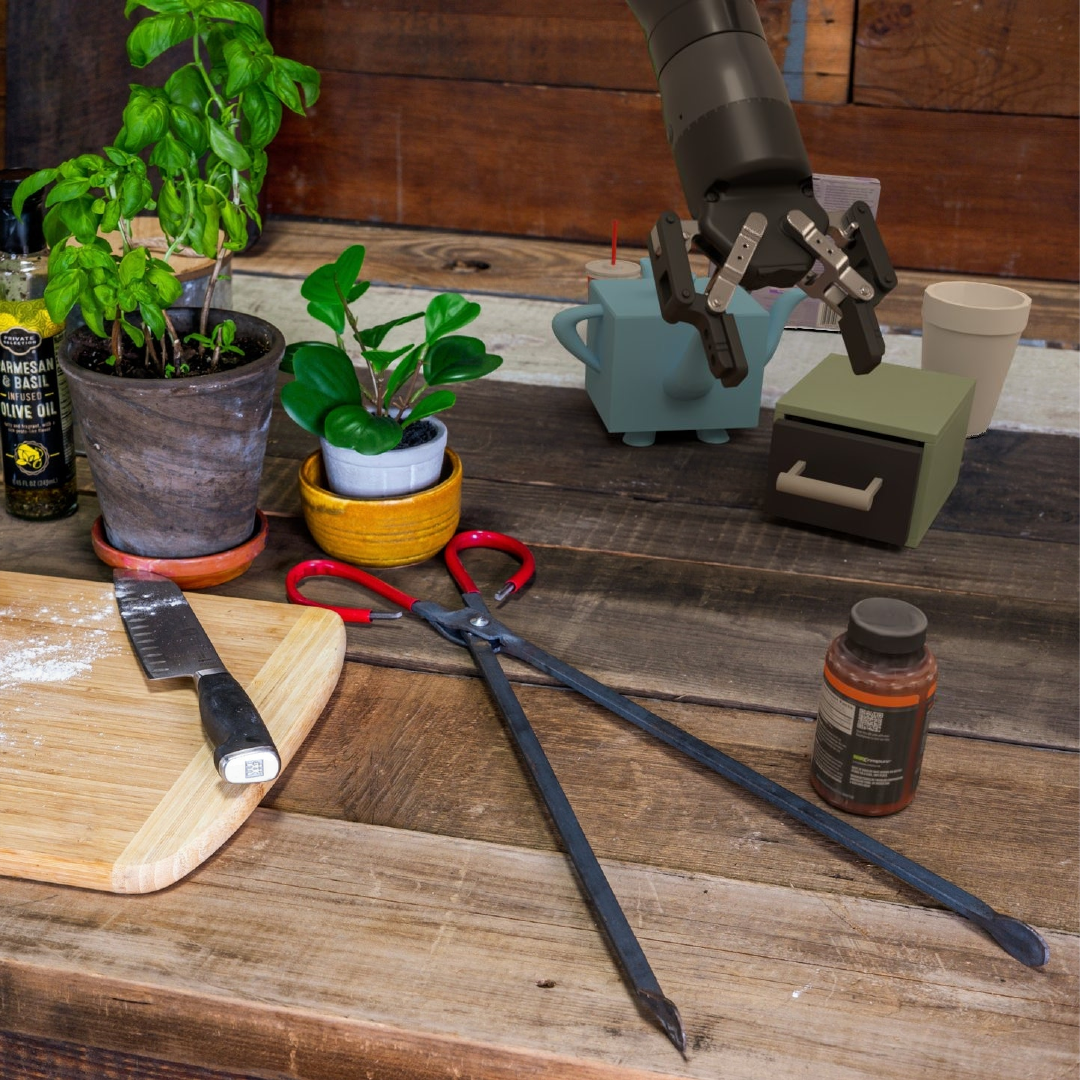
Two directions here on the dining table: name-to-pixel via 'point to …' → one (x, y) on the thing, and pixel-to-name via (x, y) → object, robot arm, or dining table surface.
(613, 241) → the beverage cup
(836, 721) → the supplement bottle
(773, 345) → the teakettle
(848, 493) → the drawer
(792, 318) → the cake pan box
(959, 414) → the cabinet
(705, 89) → the robot arm
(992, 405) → the foam cup
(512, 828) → the dining table surface
